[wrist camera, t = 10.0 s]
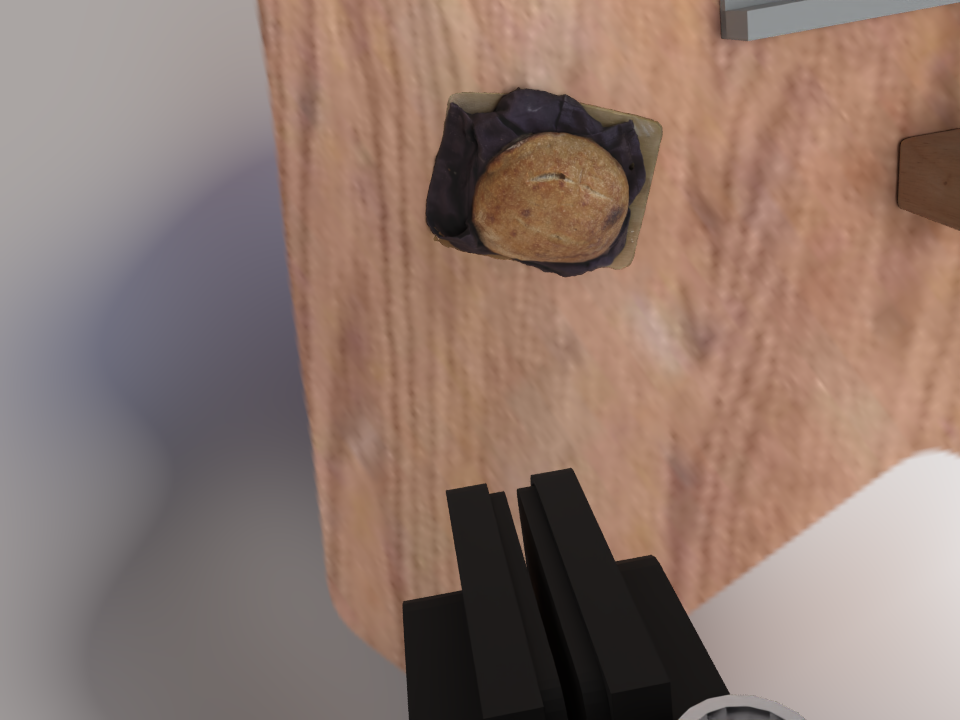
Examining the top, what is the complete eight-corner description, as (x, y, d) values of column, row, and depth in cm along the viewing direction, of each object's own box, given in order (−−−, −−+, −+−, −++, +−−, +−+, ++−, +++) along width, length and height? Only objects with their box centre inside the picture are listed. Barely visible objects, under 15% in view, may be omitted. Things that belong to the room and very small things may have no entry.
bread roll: (665, 111, 41) (692, 120, 38) (623, 279, 44) (645, 302, 41) (446, 71, 39) (454, 77, 36) (417, 250, 42) (422, 271, 39)
